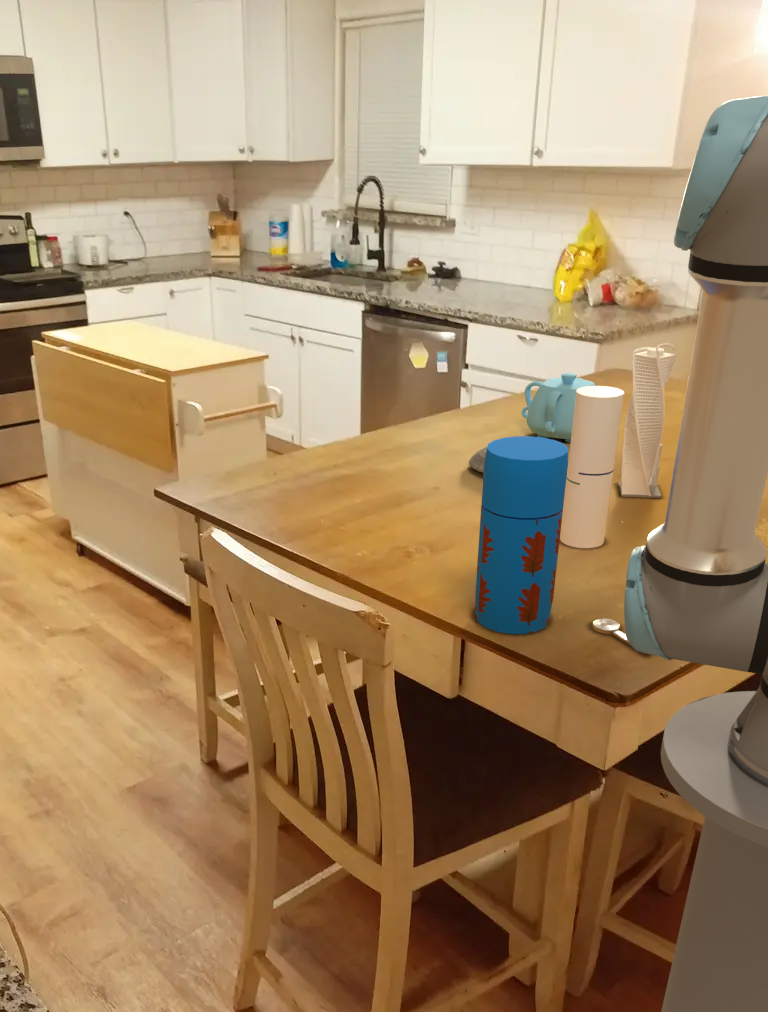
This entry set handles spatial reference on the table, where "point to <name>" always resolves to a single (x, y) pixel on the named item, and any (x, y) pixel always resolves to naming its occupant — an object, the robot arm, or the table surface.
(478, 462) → the flying saucer
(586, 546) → the cylindrical container
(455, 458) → the table surface
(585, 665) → the table surface
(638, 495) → the skyscraper
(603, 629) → the metal disc paddle
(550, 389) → the decorative pot
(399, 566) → the table surface
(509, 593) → the thermos
